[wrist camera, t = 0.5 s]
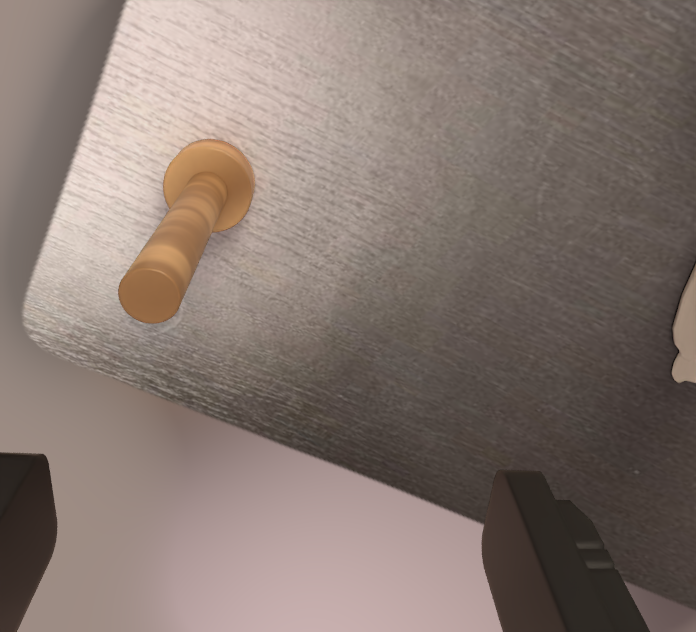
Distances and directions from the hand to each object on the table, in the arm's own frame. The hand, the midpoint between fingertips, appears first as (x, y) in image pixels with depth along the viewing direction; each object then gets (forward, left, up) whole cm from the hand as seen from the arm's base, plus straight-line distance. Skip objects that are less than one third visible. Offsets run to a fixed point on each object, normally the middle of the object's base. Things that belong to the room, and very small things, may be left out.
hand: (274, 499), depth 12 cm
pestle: (-2, -4, -26) cm, 26 cm away
